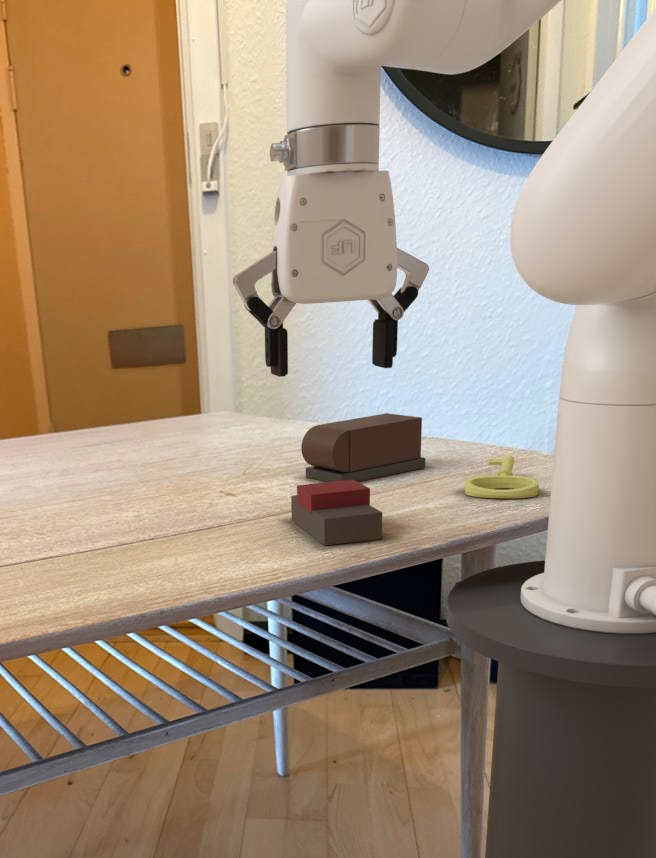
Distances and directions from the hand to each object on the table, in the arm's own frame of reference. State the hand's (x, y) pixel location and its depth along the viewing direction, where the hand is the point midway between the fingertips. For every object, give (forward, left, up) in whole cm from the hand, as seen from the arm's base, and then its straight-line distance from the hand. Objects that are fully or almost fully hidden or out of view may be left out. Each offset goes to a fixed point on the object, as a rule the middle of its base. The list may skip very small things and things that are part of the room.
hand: (331, 370), depth 82 cm
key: (+9, -22, -15) cm, 28 cm away
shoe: (+23, -12, -15) cm, 30 cm away
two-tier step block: (0, 0, -15) cm, 15 cm away
